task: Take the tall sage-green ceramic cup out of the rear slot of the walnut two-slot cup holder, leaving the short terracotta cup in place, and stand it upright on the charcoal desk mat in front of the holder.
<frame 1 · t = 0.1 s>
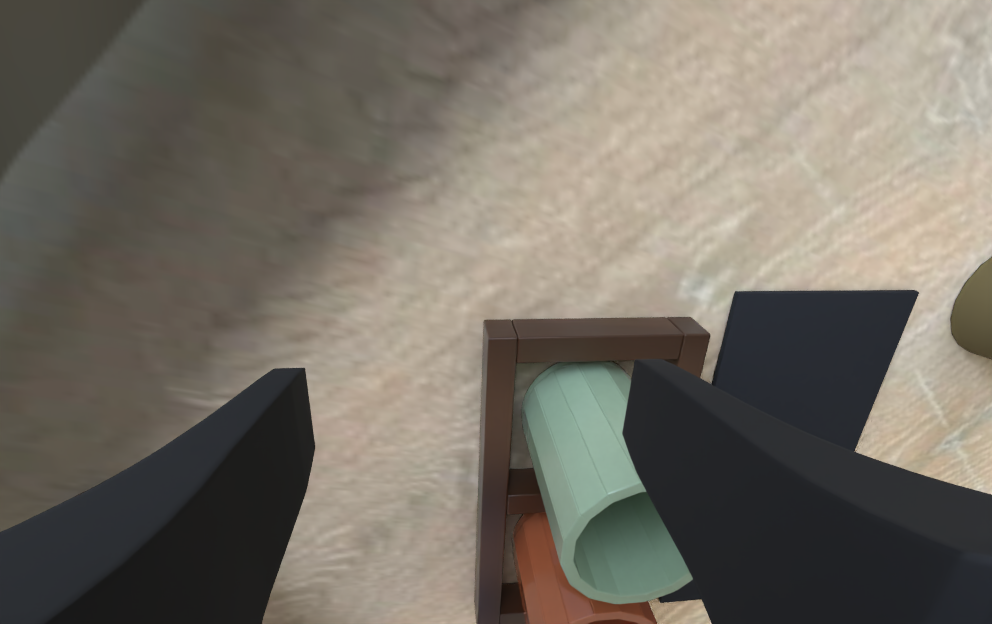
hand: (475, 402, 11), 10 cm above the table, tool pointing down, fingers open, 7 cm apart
holder: (570, 474, 26), on the table
cup: (578, 407, 24), resting in holder
desk mat: (769, 464, 27), on the table
terracotta cup: (562, 534, 27), resting in holder
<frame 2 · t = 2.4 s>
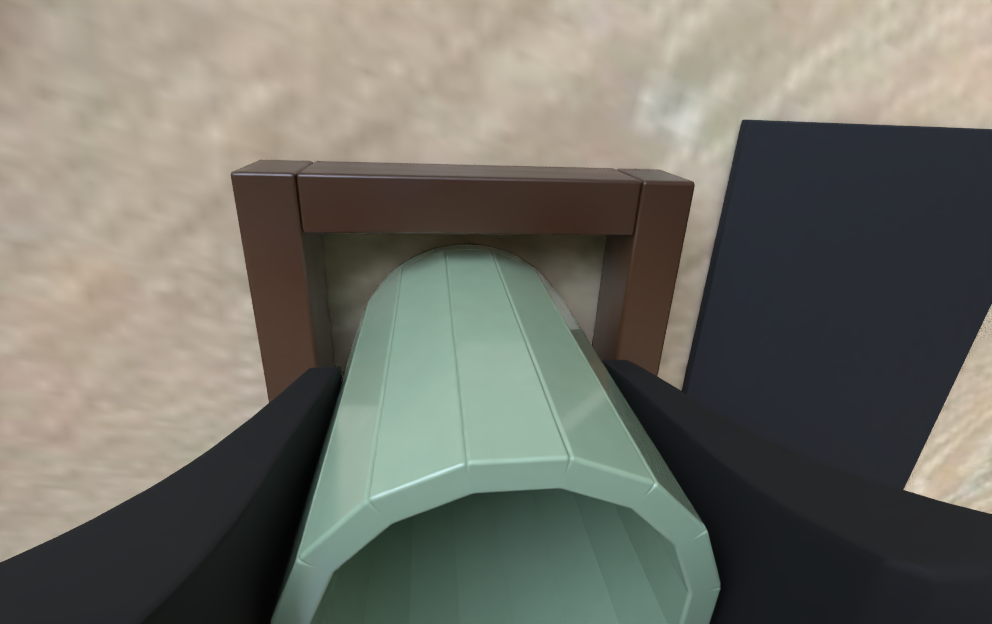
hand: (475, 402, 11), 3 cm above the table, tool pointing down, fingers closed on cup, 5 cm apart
holder: (464, 463, 15), on the table
cup: (465, 343, 14), resting in holder, touching gripper
desk mat: (796, 446, 17), on the table
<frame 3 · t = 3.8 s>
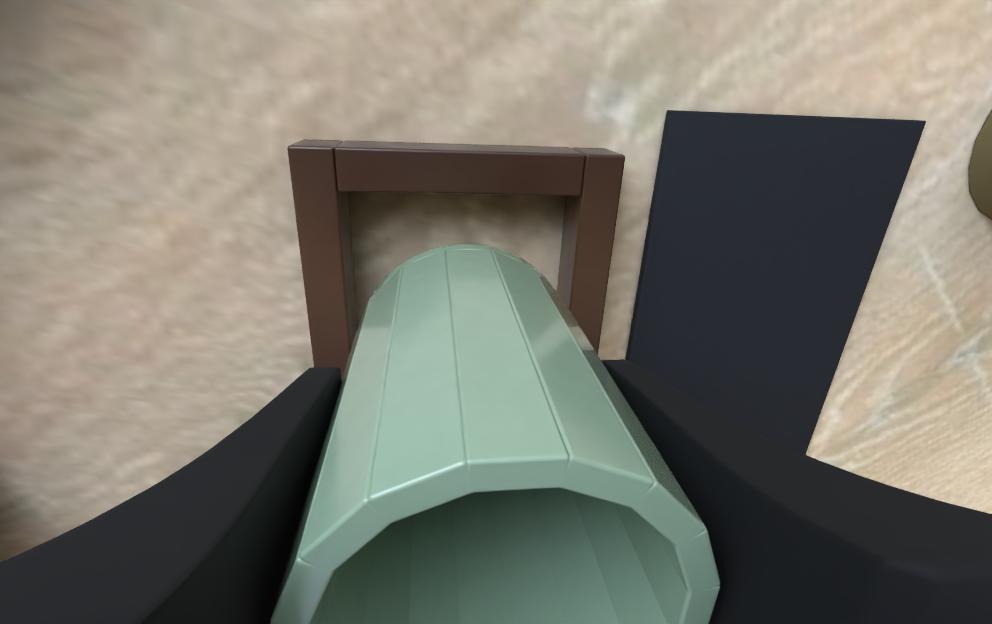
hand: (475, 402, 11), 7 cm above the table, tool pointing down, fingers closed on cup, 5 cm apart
holder: (457, 386, 19), on the table
cup: (465, 343, 14), point 4 cm above the table, touching gripper
desk mat: (727, 378, 20), on the table
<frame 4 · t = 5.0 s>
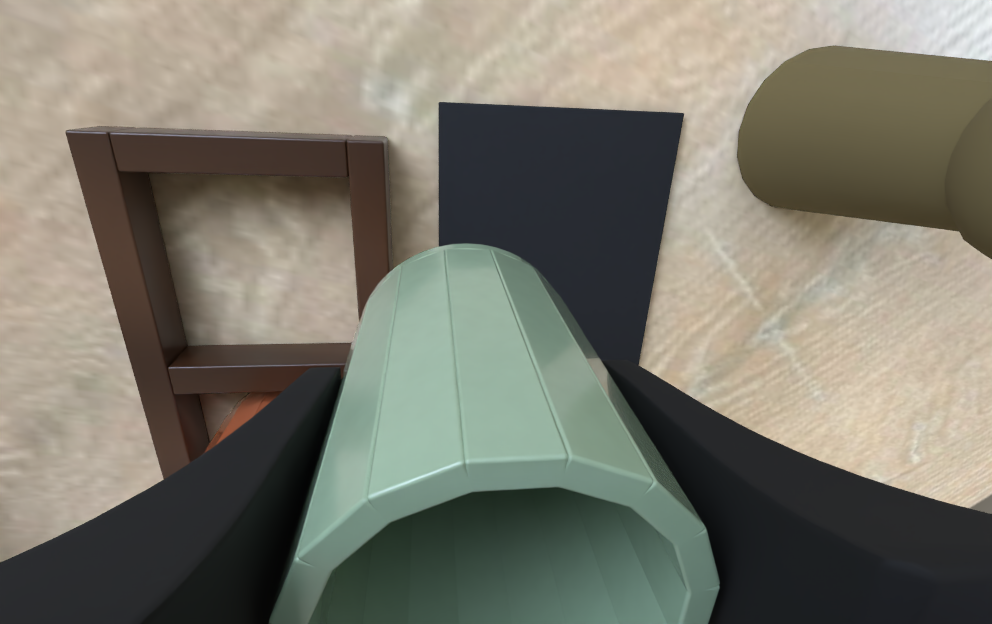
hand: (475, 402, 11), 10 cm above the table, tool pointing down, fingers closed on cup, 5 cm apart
olive pepper mill: (807, 132, 20), on the table
holder: (281, 356, 21), on the table
cup: (464, 343, 14), point 7 cm above the table, touching gripper
desk mat: (541, 351, 22), on the table
terracotta cup: (292, 436, 22), resting in holder
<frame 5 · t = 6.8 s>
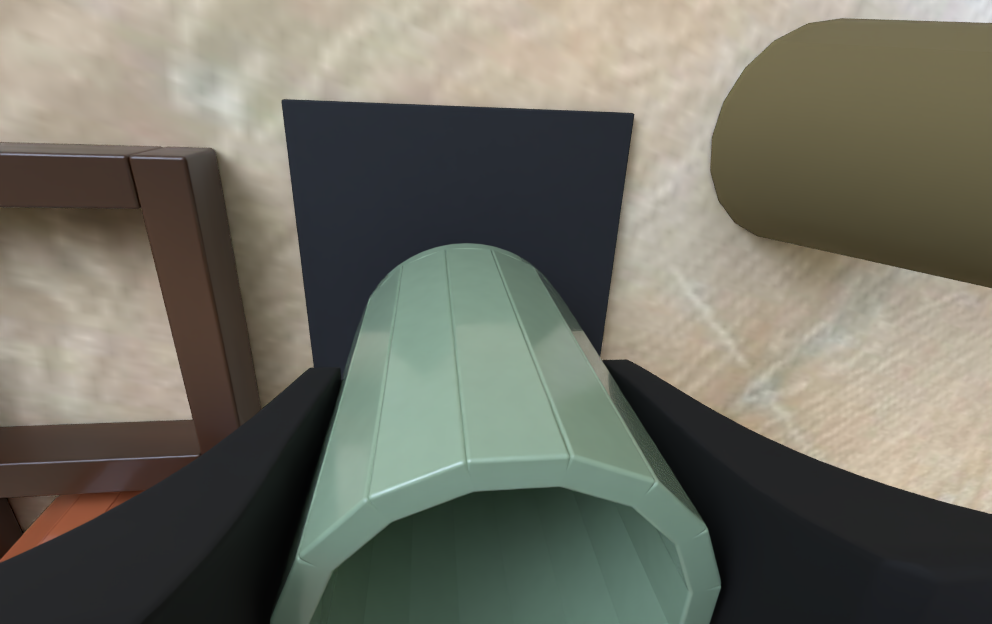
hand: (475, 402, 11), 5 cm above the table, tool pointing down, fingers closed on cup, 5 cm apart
olive pepper mill: (805, 138, 15), on the table
holder: (108, 438, 16), on the table
cup: (465, 342, 14), point 2 cm above the table, touching gripper
desk mat: (460, 423, 17), on the table
terracotta cup: (140, 534, 17), resting in holder
when the fingers open (3 cm above the table, at t = 8.0 s): cup stays where it is, resting on desk mat.
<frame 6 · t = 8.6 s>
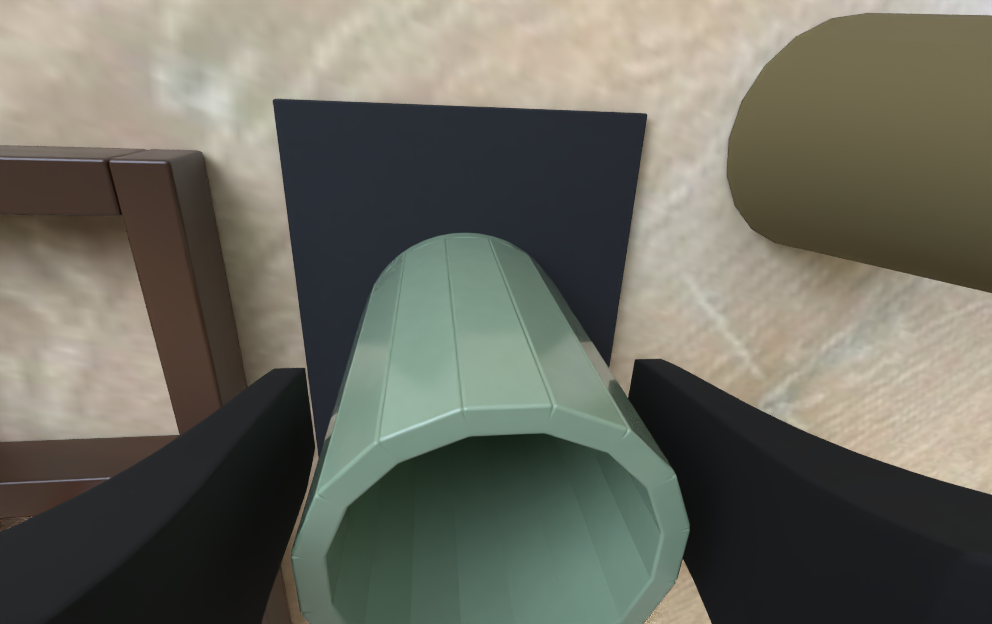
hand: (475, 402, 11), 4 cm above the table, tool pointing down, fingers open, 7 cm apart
olive pepper mill: (827, 139, 14), on the table
holder: (93, 454, 15), on the table
cup: (464, 327, 14), resting on desk mat
desk mat: (462, 437, 16), on the table
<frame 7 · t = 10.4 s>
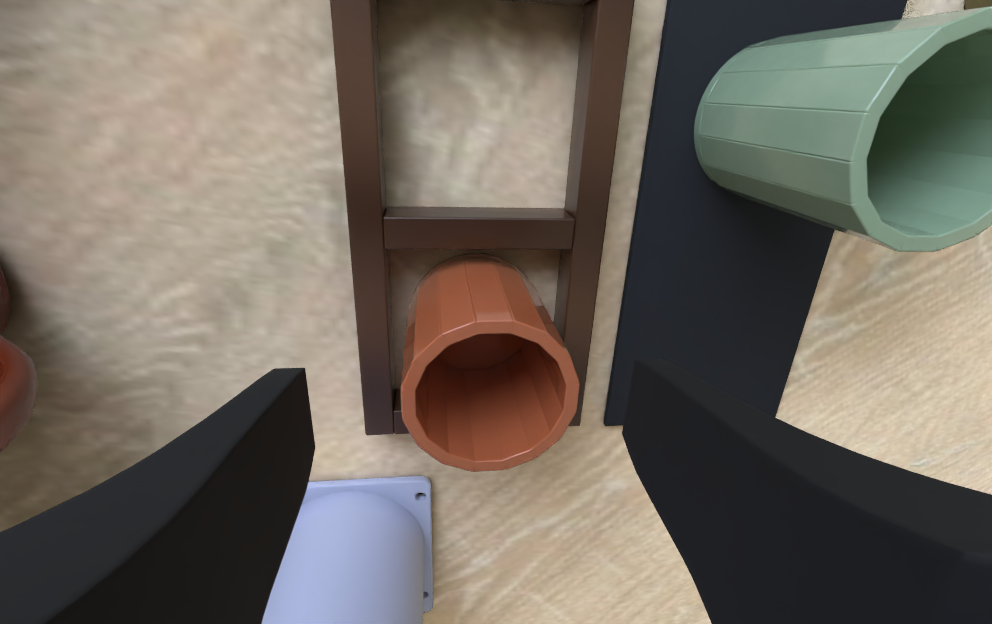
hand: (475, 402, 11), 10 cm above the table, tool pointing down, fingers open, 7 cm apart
holder: (476, 222, 20), on the table
cup: (762, 120, 19), resting on desk mat
desk mat: (734, 224, 21), on the table
terracotta cup: (474, 315, 22), resting in holder
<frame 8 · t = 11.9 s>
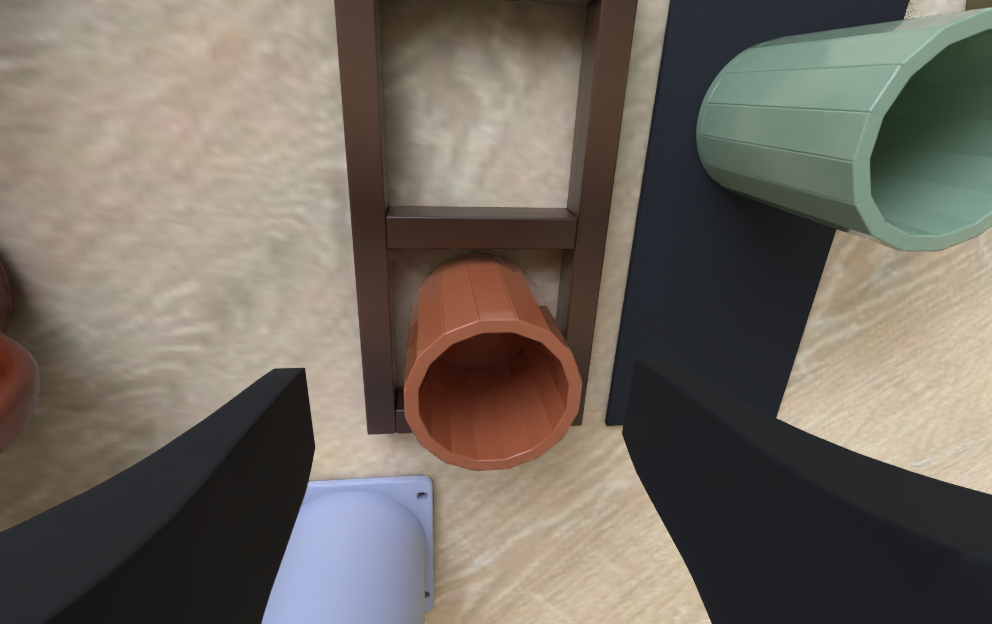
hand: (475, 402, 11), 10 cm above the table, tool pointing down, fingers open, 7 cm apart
holder: (479, 221, 20), on the table
cup: (764, 121, 19), resting on desk mat
desk mat: (736, 224, 21), on the table
terracotta cup: (476, 315, 22), resting in holder
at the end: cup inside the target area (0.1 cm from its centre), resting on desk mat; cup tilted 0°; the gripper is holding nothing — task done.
